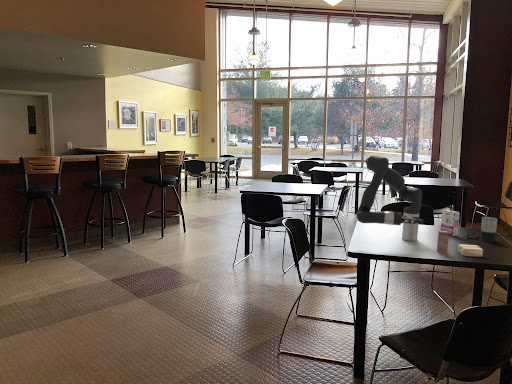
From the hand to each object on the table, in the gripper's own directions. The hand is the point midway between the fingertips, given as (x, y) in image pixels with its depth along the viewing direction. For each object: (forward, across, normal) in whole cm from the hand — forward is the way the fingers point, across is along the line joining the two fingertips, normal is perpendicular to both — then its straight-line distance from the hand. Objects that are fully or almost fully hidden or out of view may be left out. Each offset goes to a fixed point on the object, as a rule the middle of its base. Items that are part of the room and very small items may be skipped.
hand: (421, 220), depth 236 cm
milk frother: (+46, +43, +17) cm, 66 cm away
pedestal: (+27, +1, +17) cm, 32 cm away
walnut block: (+12, 0, +18) cm, 22 cm away
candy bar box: (+30, +53, +17) cm, 63 cm away
